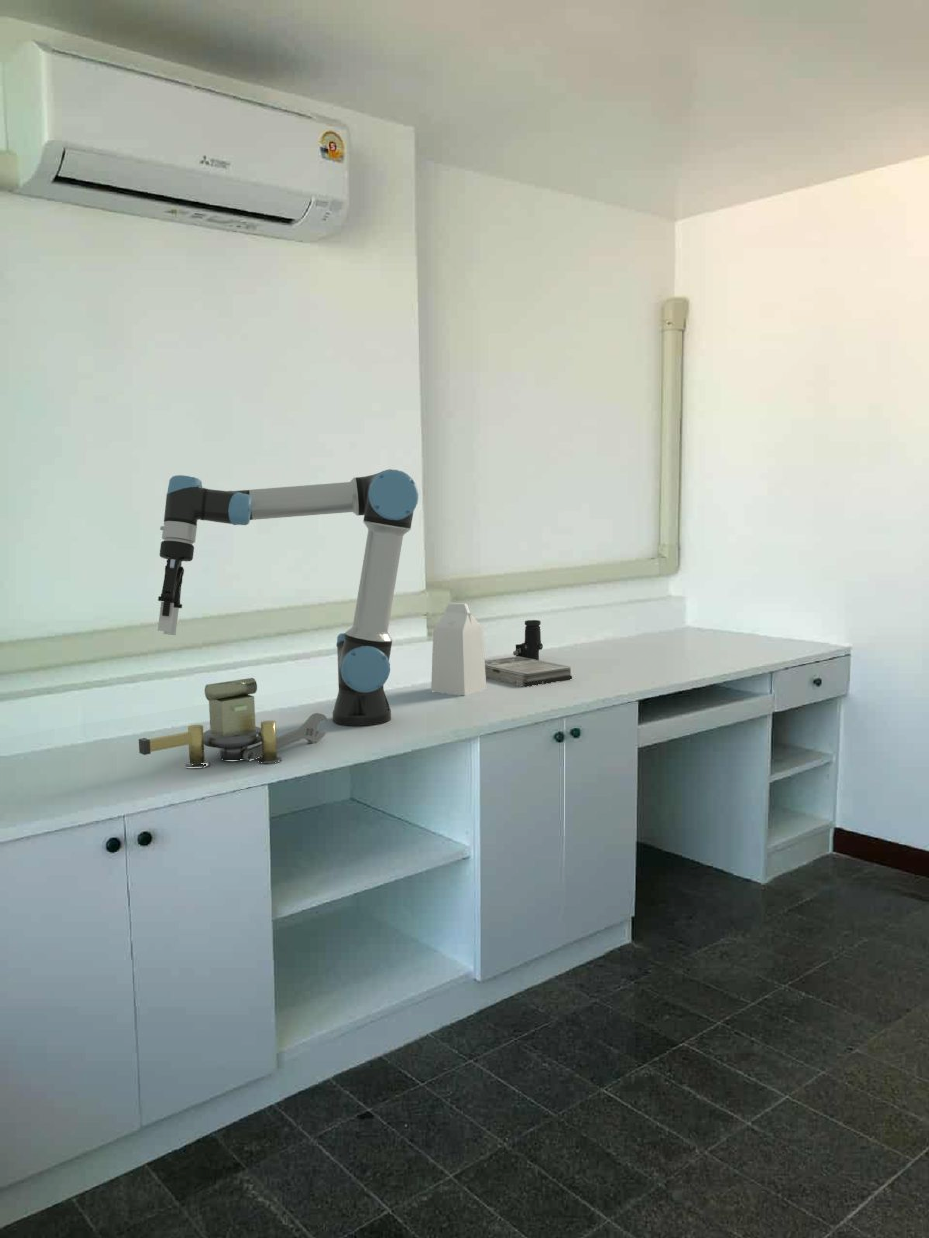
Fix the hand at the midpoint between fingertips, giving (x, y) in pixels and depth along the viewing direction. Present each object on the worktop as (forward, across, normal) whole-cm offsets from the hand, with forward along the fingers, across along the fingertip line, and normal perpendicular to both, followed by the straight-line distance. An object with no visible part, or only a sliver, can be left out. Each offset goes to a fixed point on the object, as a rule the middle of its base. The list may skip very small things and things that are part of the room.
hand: (166, 633), depth 234 cm
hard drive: (0, -69, +102) cm, 123 cm away
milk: (+6, -53, +80) cm, 96 cm away
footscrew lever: (+29, +15, +6) cm, 33 cm away
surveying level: (+27, +8, +17) cm, 33 cm away
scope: (-8, -97, +112) cm, 149 cm away
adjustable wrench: (+22, +4, +31) cm, 38 cm away
